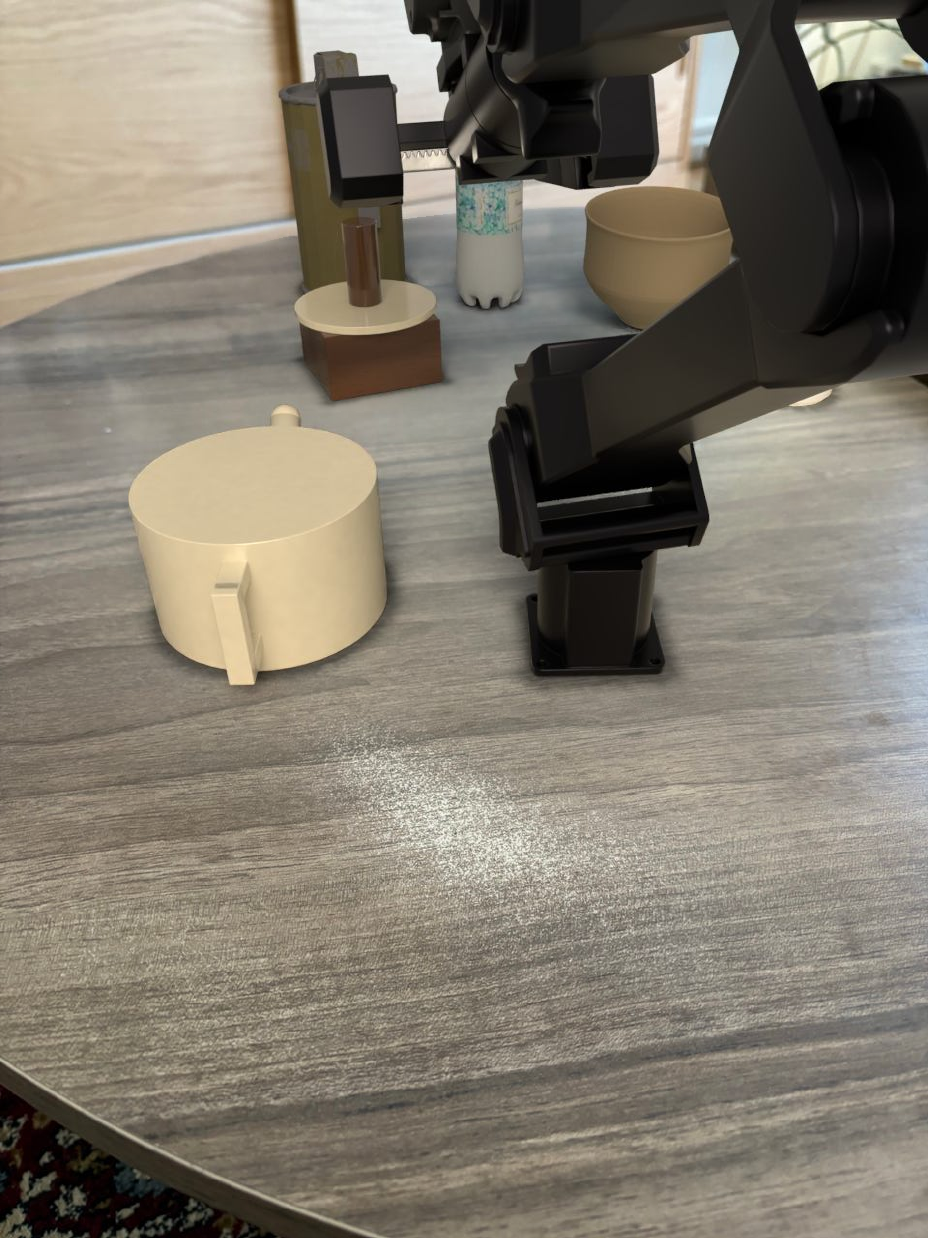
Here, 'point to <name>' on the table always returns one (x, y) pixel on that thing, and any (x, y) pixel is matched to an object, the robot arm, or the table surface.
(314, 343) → the stand
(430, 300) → the lid
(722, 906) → the table surface
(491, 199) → the bottle
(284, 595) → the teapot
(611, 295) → the bowl
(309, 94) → the canister
